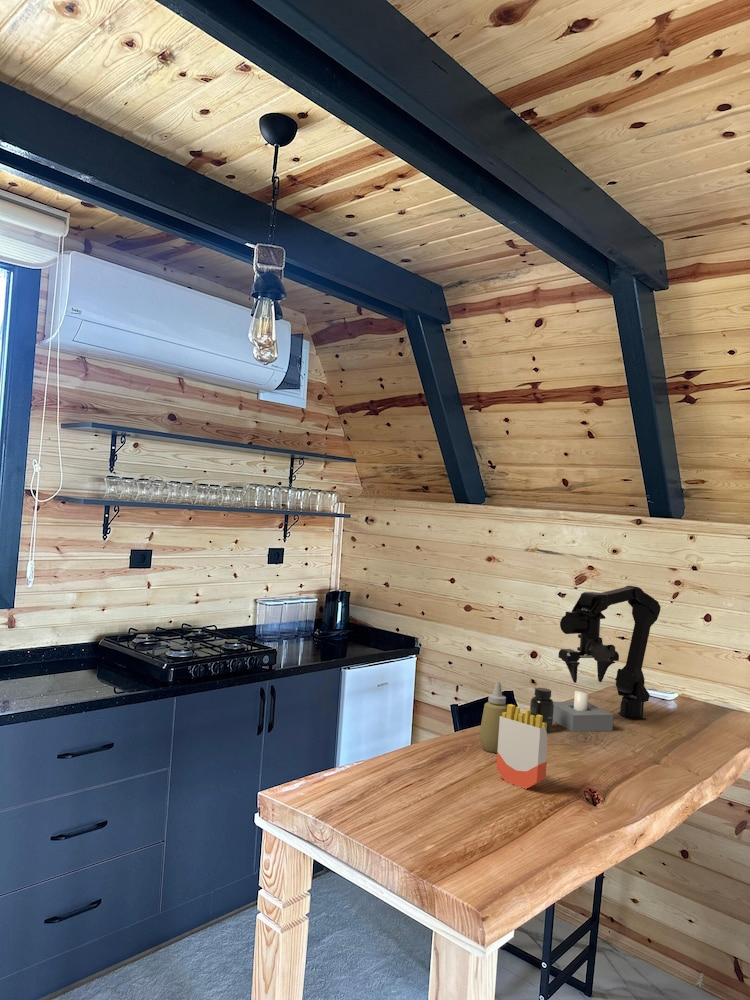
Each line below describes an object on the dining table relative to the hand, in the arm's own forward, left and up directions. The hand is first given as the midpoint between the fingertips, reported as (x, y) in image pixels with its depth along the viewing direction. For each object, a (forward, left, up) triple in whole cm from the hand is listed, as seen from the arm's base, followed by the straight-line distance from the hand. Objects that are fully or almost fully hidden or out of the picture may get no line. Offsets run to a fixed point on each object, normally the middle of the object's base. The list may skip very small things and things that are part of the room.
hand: (587, 682), depth 215 cm
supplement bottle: (+19, +6, -13) cm, 24 cm away
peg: (+3, +2, -13) cm, 13 cm away
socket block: (+3, +2, -13) cm, 13 cm away
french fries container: (+46, +43, -13) cm, 64 cm away
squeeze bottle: (+42, +21, -13) cm, 49 cm away
